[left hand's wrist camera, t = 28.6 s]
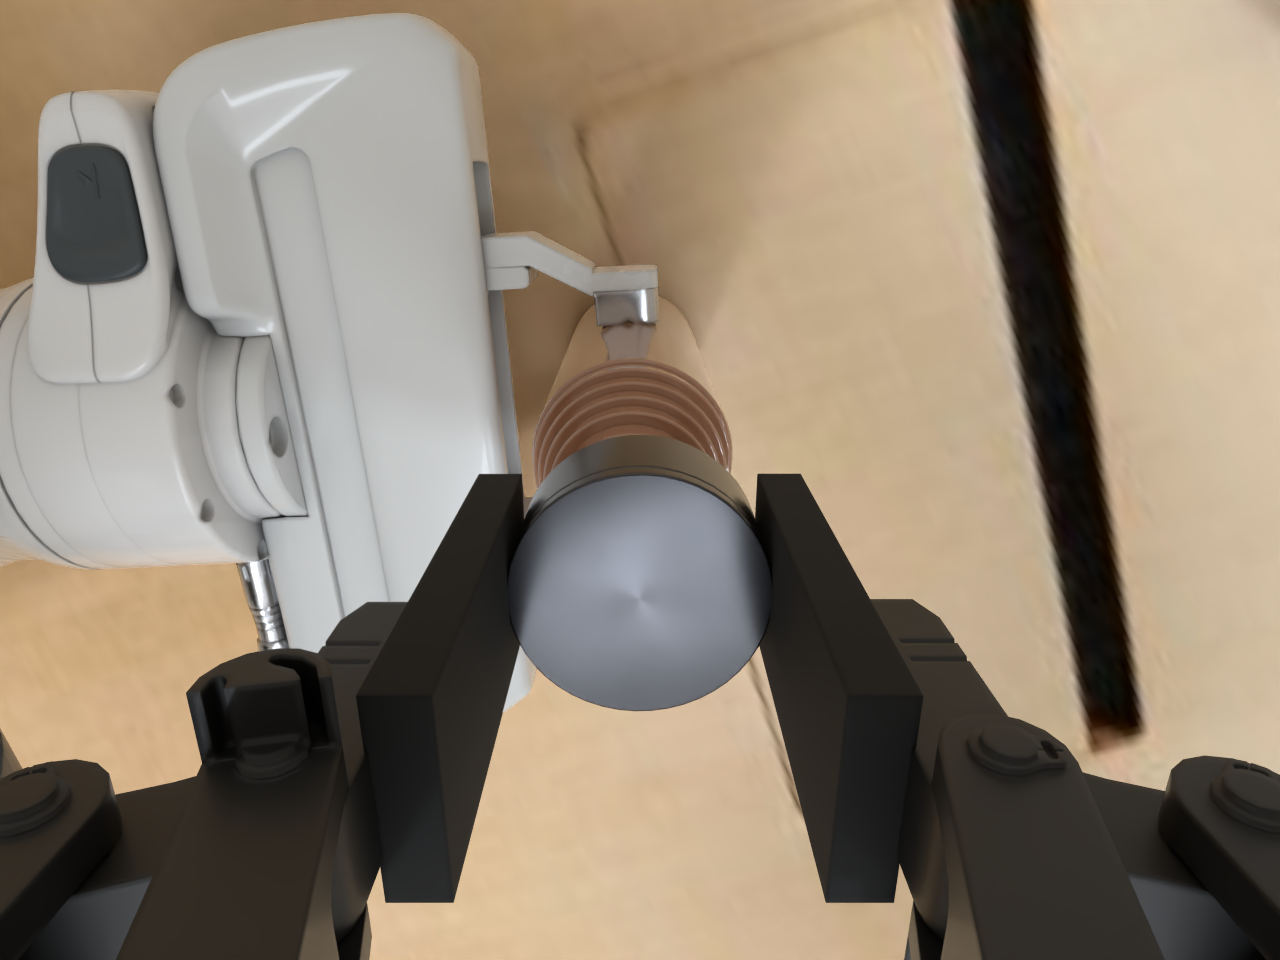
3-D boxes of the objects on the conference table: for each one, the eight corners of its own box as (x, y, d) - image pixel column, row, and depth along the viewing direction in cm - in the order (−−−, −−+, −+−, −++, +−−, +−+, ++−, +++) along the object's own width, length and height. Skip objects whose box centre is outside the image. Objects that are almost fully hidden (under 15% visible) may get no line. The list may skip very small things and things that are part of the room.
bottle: (545, 339, 30) (444, 520, 14) (647, 263, 29) (662, 363, 13) (620, 436, 31) (605, 701, 15) (719, 366, 30) (813, 571, 14)
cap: (674, 682, 15) (679, 751, 14) (481, 578, 15) (458, 636, 13) (803, 511, 14) (828, 561, 12) (599, 388, 13) (593, 421, 12)
